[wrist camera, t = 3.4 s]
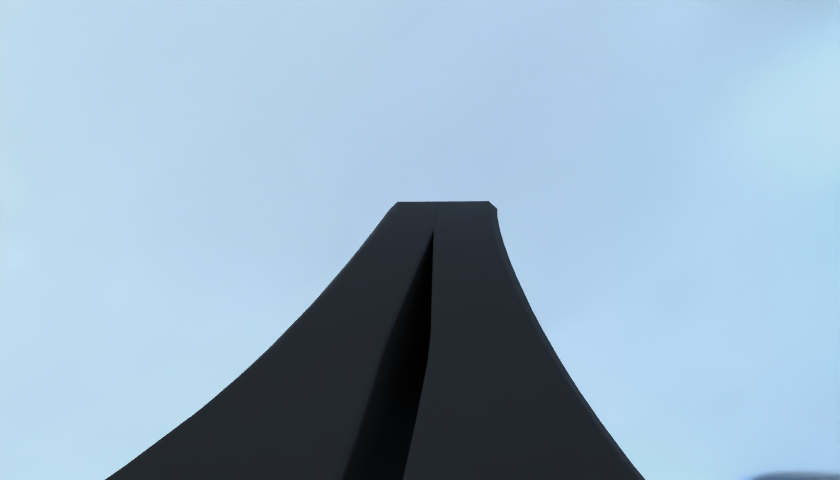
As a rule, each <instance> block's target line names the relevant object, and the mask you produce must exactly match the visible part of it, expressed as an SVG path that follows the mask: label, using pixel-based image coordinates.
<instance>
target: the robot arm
mask: <svg viewBox="0 0 840 480" xmlns="http://www.w3.org/2000/svg"><path fill="white" fill-rule="evenodd" d="M105 480H645V479H644V478H643V476H642V475H641V474H640V473H639V472H638V470H637V469H636V468H635V467H634V466H633V464H632V463H631V462H630V460H629V459H628V458H627V456H626V455H625V454H624V452H623V451H622V450H621V448H620V447H619V446H618V444H617V443H616V442H615V440H614V439H613V438H612V436H611V435H610V434H609V432H608V431H607V430H606V428H605V427H604V426H603V424H602V423H601V422H600V420H599V419H598V417H597V416H596V414H595V413H594V411H593V410H592V409H591V407H590V406H589V404H588V403H587V401H586V400H585V398H584V397H583V395H582V394H581V393H580V391H579V390H578V388H577V386H576V385H575V383H574V382H573V380H572V379H571V377H570V376H569V374H568V372H567V371H566V369H565V368H564V366H563V364H562V363H561V361H560V359H559V358H558V356H557V354H556V353H555V351H554V349H553V347H552V346H551V344H550V342H549V340H548V339H547V337H546V335H545V333H544V332H543V330H542V328H541V326H540V324H539V322H538V320H537V318H536V316H535V315H534V313H533V311H532V309H531V307H530V305H529V302H528V300H527V298H526V296H525V294H524V292H523V290H522V287H521V285H520V283H519V281H518V279H517V277H516V274H515V272H514V270H513V267H512V265H511V262H510V260H509V257H508V254H507V251H506V248H505V246H504V243H503V239H502V236H501V232H500V228H499V224H498V218H497V208H495V207H494V206H493V205H492V204H491V203H490V202H489V201H465V202H397V203H396V204H395V205H394V206H393V207H392V208H391V209H390V210H389V211H388V212H387V214H386V215H385V216H384V218H383V219H382V220H381V222H380V223H379V224H378V226H377V227H376V228H375V229H374V231H373V232H372V233H371V235H370V236H369V237H368V239H367V240H366V241H365V242H364V244H363V245H362V246H361V247H360V249H359V250H358V251H357V252H356V254H355V255H354V256H353V257H352V258H351V260H350V261H349V262H348V263H347V264H346V266H345V267H344V268H343V269H342V270H341V271H340V273H339V274H338V275H337V276H336V277H335V278H334V280H333V281H332V282H331V283H330V284H329V285H328V287H327V288H326V289H325V290H324V291H323V292H322V294H321V295H320V296H319V297H318V298H317V299H316V300H315V301H314V302H313V304H312V305H311V306H310V307H309V308H308V309H307V310H306V311H305V312H304V313H303V314H302V315H301V316H300V317H299V318H298V319H297V320H296V321H295V322H294V323H293V324H292V325H291V326H290V327H289V328H288V329H287V330H286V332H285V333H284V334H283V335H282V336H281V337H280V338H279V339H278V340H277V341H276V342H275V343H274V344H273V345H272V346H271V347H270V348H269V349H268V350H267V351H266V352H265V353H264V354H262V355H261V356H260V357H259V358H258V359H257V360H256V361H255V362H254V363H253V364H252V365H251V366H250V367H249V368H248V369H246V370H245V371H244V372H243V373H242V374H241V375H240V376H239V377H238V378H236V379H235V380H234V381H233V382H232V383H231V384H230V385H228V386H227V387H226V388H225V389H224V390H223V391H221V392H220V393H219V394H218V395H217V396H216V397H215V398H213V399H212V400H211V401H210V402H209V403H207V404H206V405H205V406H204V407H203V408H201V409H200V410H199V411H198V412H196V413H195V414H194V415H192V416H191V417H190V418H188V419H187V420H186V421H184V422H183V423H182V424H180V425H179V426H178V427H176V428H175V429H174V430H172V431H171V432H170V433H168V434H167V435H166V436H164V437H163V438H162V439H160V440H159V441H158V442H156V443H155V444H154V445H152V446H151V447H150V448H148V449H147V450H146V451H144V452H143V453H142V454H140V455H139V456H138V457H136V458H135V459H134V460H132V461H131V462H130V463H128V464H127V465H126V466H124V467H123V468H121V469H120V470H118V471H117V472H116V473H114V474H113V475H111V476H110V477H108V478H107V479H105Z"/></svg>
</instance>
